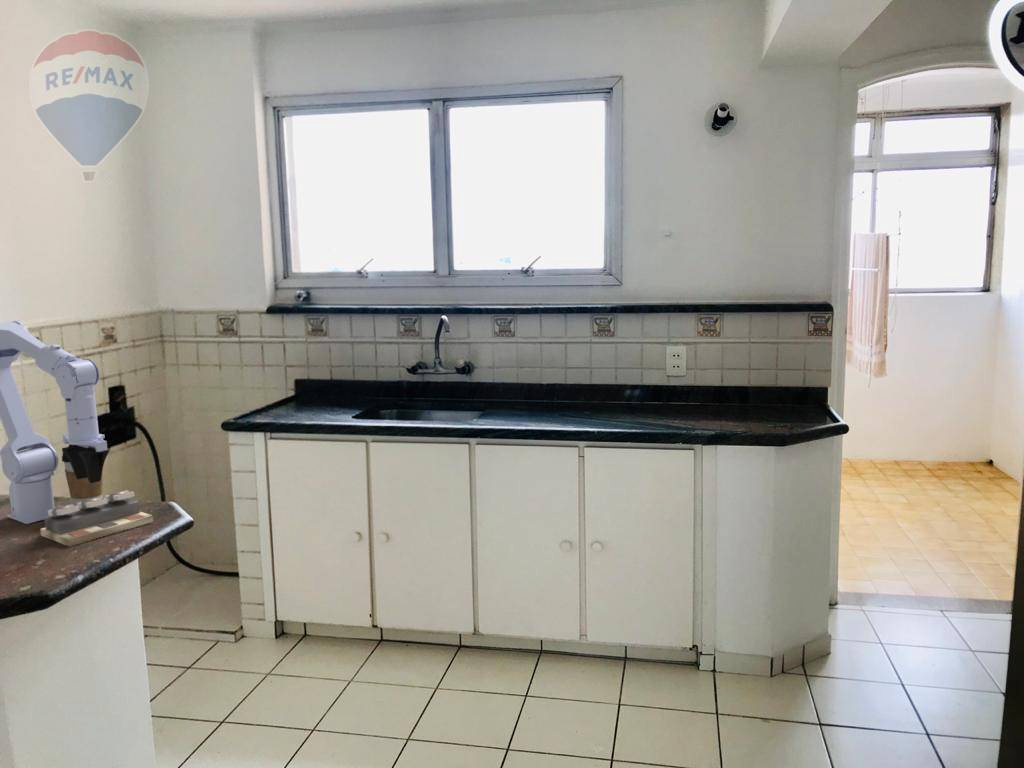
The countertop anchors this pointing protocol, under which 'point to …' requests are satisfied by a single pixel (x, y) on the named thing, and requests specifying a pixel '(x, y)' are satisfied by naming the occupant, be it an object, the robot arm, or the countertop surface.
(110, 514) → the switch unit
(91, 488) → the coffee cup
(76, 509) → the rocker end near
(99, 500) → the rocker middle
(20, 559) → the countertop surface
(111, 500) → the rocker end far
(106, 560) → the countertop surface
